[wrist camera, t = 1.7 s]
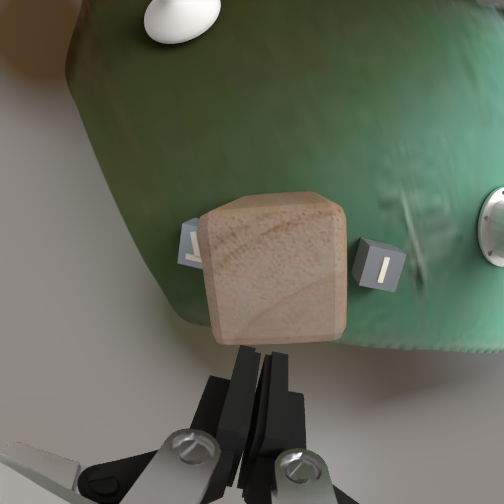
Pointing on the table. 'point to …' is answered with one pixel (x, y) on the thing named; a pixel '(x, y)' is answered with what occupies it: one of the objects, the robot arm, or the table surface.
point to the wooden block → (275, 269)
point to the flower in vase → (179, 19)
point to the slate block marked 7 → (190, 245)
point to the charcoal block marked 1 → (378, 265)
